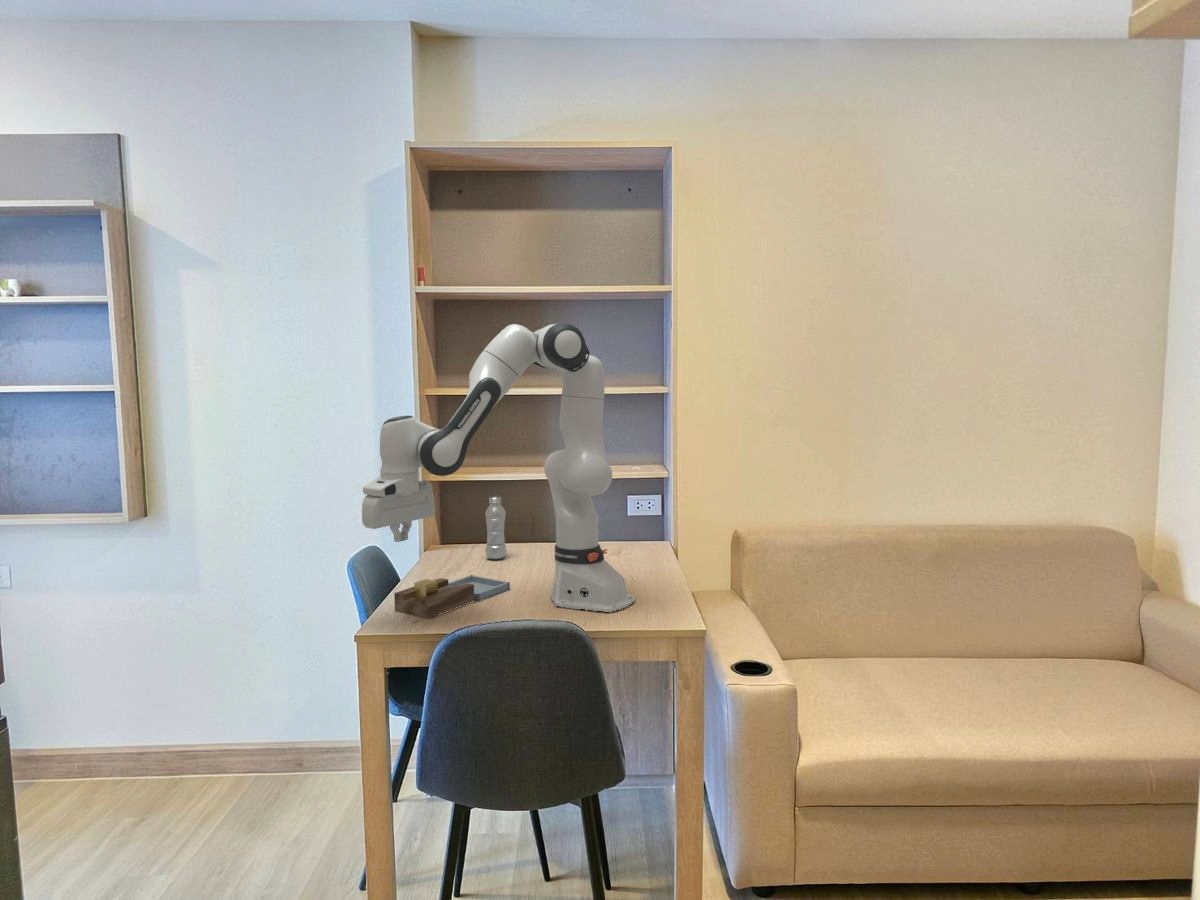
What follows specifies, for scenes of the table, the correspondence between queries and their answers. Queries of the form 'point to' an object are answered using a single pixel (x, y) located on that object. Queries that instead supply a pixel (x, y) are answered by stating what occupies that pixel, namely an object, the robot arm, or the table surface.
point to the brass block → (425, 588)
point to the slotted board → (434, 599)
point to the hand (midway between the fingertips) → (401, 540)
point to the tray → (483, 586)
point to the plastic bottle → (495, 529)
